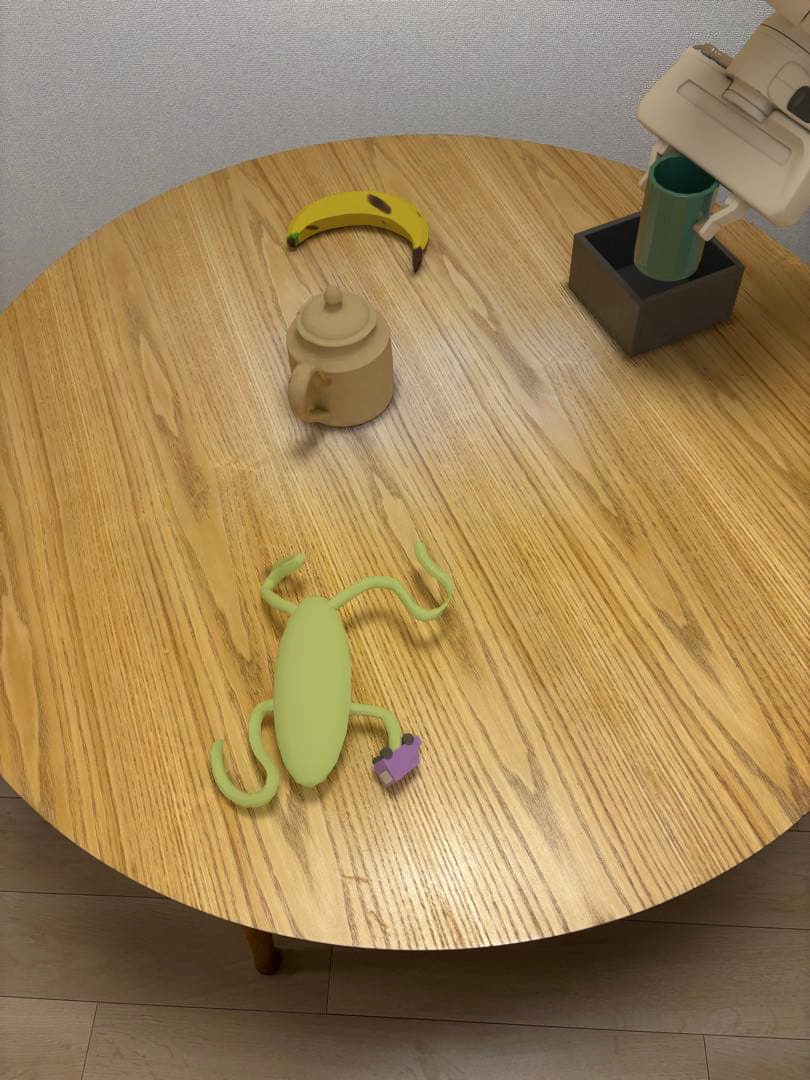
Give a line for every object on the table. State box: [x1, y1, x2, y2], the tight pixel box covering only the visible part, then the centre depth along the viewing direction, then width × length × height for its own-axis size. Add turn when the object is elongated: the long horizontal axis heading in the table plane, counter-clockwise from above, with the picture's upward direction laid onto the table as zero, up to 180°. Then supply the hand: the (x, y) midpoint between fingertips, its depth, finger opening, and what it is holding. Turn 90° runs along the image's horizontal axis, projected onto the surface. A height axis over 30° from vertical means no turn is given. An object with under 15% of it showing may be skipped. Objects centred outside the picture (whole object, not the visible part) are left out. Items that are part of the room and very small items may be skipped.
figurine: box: [209, 541, 456, 808], centre depth 88 cm, size 18×27×6 cm
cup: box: [633, 153, 721, 281], centre depth 98 cm, size 7×7×10 cm
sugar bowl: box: [285, 283, 395, 428], centre depth 104 cm, size 15×11×15 cm
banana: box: [286, 189, 430, 273], centre depth 124 cm, size 5×17×15 cm
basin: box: [567, 209, 747, 358], centre depth 114 cm, size 14×14×8 cm
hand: (671, 213), depth 97 cm, fingers closed on cup, 6 cm apart
